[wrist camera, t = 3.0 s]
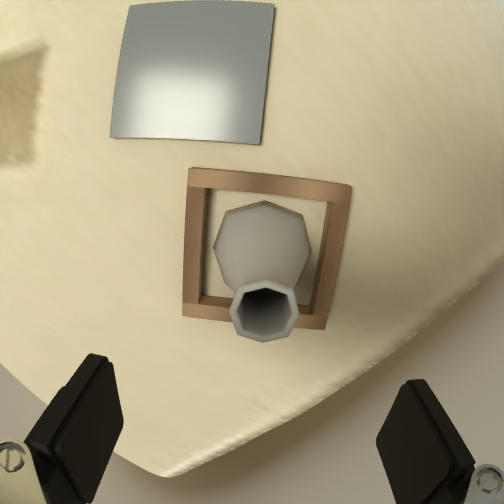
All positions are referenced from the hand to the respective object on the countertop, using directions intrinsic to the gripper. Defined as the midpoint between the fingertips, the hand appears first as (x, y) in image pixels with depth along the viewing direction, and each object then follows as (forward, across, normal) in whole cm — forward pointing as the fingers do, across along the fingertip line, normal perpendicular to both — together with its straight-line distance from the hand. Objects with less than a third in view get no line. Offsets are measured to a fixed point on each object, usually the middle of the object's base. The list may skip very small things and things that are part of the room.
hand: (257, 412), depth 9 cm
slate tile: (+15, +6, -14) cm, 21 cm away
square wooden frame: (+16, 0, -1) cm, 16 cm away
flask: (+16, 0, -1) cm, 16 cm away
